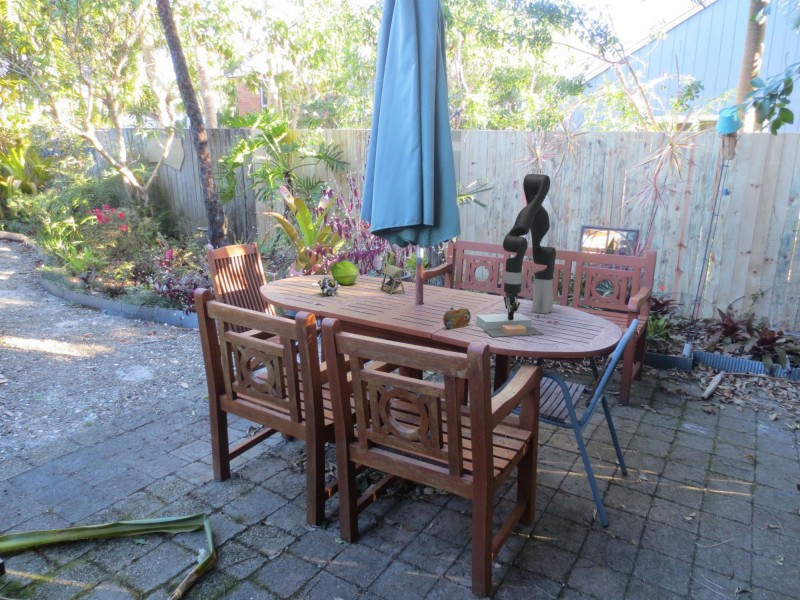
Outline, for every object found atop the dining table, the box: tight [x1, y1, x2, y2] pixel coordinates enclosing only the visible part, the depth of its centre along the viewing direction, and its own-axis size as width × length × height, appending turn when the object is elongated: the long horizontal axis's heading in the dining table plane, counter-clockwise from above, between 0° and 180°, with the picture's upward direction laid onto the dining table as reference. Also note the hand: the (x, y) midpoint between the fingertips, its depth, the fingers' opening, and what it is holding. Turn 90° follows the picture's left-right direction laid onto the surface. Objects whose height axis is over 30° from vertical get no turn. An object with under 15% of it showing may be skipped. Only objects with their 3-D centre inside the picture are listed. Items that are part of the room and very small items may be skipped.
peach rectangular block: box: [502, 324, 527, 335], centre depth 237 cm, size 9×6×2 cm, turn 102°
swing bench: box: [380, 264, 407, 296], centre depth 315 cm, size 15×10×15 cm, turn 27°
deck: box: [475, 312, 532, 331], centre depth 249 cm, size 22×12×4 cm, turn 102°
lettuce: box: [331, 260, 360, 286], centre depth 334 cm, size 15×23×16 cm
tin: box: [442, 307, 472, 330], centre depth 245 cm, size 15×3×8 cm, turn 126°
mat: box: [483, 327, 545, 339], centre depth 238 cm, size 24×10×1 cm, turn 102°
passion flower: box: [317, 274, 341, 297], centre depth 306 cm, size 13×12×14 cm
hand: (510, 319), depth 241 cm, fingers closed
